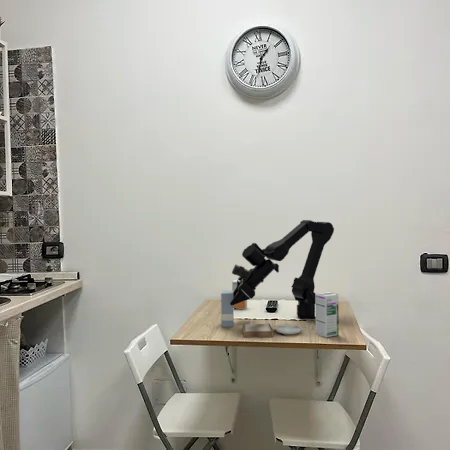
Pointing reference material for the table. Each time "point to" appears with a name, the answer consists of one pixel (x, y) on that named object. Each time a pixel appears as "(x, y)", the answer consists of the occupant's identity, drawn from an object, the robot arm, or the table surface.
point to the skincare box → (242, 304)
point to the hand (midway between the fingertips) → (230, 301)
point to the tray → (257, 330)
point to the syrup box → (327, 314)
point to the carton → (227, 309)
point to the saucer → (288, 329)
